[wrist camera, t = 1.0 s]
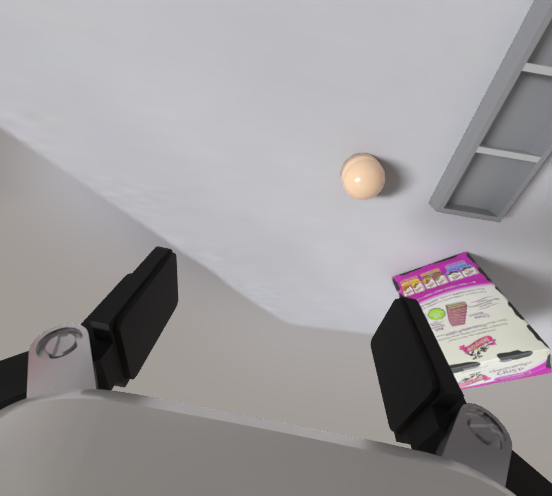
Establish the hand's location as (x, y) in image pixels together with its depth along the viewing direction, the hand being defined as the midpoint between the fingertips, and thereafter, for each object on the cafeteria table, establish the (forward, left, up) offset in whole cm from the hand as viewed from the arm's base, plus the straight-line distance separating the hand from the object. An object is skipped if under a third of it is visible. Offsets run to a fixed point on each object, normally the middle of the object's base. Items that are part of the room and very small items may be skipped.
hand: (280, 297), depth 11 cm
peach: (+2, +9, -26) cm, 27 cm away
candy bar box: (+16, +25, -26) cm, 39 cm away
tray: (-7, +23, -26) cm, 35 cm away
